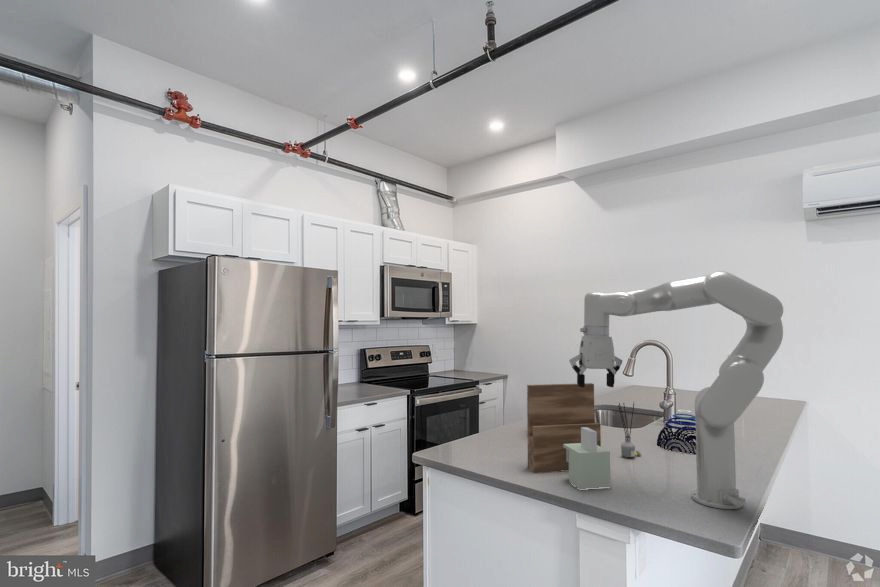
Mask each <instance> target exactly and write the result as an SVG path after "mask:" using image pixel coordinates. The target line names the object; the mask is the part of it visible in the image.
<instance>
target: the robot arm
mask: <svg viewBox="0 0 880 587" xmlns="http://www.w3.org/2000/svg"><path fill="white" fill-rule="evenodd" d="M583 300H584V301H583V302H584V304H583V306H584V309H583V312H584V313H583V314H584V315H583V316H584V318H583V327H580V329H579V331H580V332H581V333H583V335H582V336H581V340H580V343H579V344H580V345H579V352H578V354H577V355H575V356H573V357H572V358H570V359H569V360H568V361H569V363H570V365H571V368H572V370H573V371H574V372H575V373H576V384H578V386H579V387H585V382H586V375H585V374H584V373H585V372H586V370H587V369H589V370H597V369H598V370H606V371H607V373H606V386H607V387H609V388H614V386H615V375H617V372H618V371H619V370H620V369H621V365H622V364H623V359H621V358H619V357H617V356H616V355H615V347H614V343H613V342H614V341H613V337H612V336H610V316H617V317H624V318H625V317H629V316H630V317H631V316H636V315H642V314H647V313H648V314H649V313H656V312H657V313H658V312H661V311H662V312H664V311H665V312H670V311H676V310H677V311H678V310H683V309H685V310H686V309H690V308H696V307H703V306H710V305H716V304H719V305H721V306H723V307H725V308H726V309H728V310H729V311H732V313H733V312H734V313H735V314H737V315H739V316H741V317H742V319H743V320H744V321H745V323H746V324H745V325H746V331H745V333H744V335H743V337H742V338H741V339H740V341H738V343H737V344H736V347H735V348H734V349H733V350H732V351H731V353H730V354H729V355H728V356H727V358H726V359H725V360H724V361H723V362H722V363H721V365H720V367H719V369H718V376H716V379H714V381H713V383H712V384H711V385H710V386H708V387H704V388H702V389H701V390H699V391H698V392H697V394H696V395H695V398H694V416H695V421H694V422H695V423H696V426H695V428H696V433H695V434H696V435H695V436H696V441H695V443H696V445H695V446H696V449H695V453H696V454H695V456H696V458H695V460H696V489H693V490H692V491H691V493H690V497H691V499H693V500H694V501H695V502H697V503H698V504H700V505H703V506H707V507H710V508H713V509H718V510H719V509H720V510H721V509H722V510H738V509H740V508H742V507H743V506H744V504H746V499H745V498H743V497H742V496H740V493H739V492H740V490H739V489H737V481H736V479H737V478H736V477H737V476H736V437H735V436H736V434H735V422H736V421H738V419H739V418H740V417H741V416H742V414H744V412H745V411H746V410H747V408H748V407H749V405H750V404H752V401H753V400H755V398H756V397H757V396H758V394H759V393H760V391H762V387H763V386H764V382H765V375H764V370H765V369H766V367H767V366H768V365H769V363H770V362H771V361H772V358H774V356H775V355H776V353H777V352H778V351H779V348H780V347H781V345H782V341H783V338H784V337H783V336H784V326H783V321H782V319H781V318H782V316H783V314H784V306H783V303H782V302H781V300H780V299H779V298H778V297H777V296H775V295H773V294H772V293H770V292H768V291H766V290H764V289H762V288H760V287H758V286H756V285H754V284H752V283H750V282H748V281H746V280H744V279H742V278H741V277H738V276H736V275H734V273H730V272H727V271H725V270H724V271H715V272H713V273H711V274H705V275H701V276H695V277H690V278H684V279H677V280H672V281H669V282H665V283H661V284H660V285H657V286H654V287H649V288H646V289H640V290H636V291H629V292H627V291H626V292H625V291H617V292H615V291H614V292H608V293H606V292H587V293H585V295H584V299H583ZM577 362H578V364H579V365H577Z"/></svg>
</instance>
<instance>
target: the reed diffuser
mask: <svg viewBox="0 0 880 587" xmlns="http://www.w3.org/2000/svg"><path fill="white" fill-rule="evenodd" d="M622 403H623V410H624V415H623V411H622V406H621V403H620V402H618V405H617V406H618V410H619V414H620V417H621V418H620V419H621V423H622V425H623V426H622V427H623V431H624V435H625V436H624V442H622V443H621V446H620V449H621V450H620V451H621V452H620V453H621V456H623V457H625V458H635V457H637V456H639V457H641V456H642V454H641V453H642V452H641V451H640V450H639V449H637V450H636V446H635V444H634V443H633V442H632V440H631V438H632V437H631V432H632V424H633V416H634V407H635V402H633V403H632V404H633V405H632V412H631V420H630V428H629V427H628V421H627V414H626V406H625V405H626V404H625V402H622ZM624 417H625V419H624Z"/></svg>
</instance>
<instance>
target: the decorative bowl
mask: <svg viewBox="0 0 880 587" xmlns="http://www.w3.org/2000/svg"><path fill="white" fill-rule="evenodd" d="M676 412H677V413H675V414H672V417H671V418H668V420H667V422H665V424H664V427H663V428H662V429H661V430H660V432H659V433H658V436H657V441H656V446H657V447H659V446H660V447H659V448H661V447H662V448H661V449H663V448H664V449H663V450H665V449H668V451H669V450H671V451H670V452H673V451H674V450H675V449H677V451H678V452H683V450H684V452H683V453H692V454H693V453H694V454H693V455H696V421H695V415H693V414H690V413H692V410H688V409H677V411H676ZM684 416H685V417H684ZM687 416H688V417H687ZM671 424H674V425H671ZM675 425H678V426H675ZM673 429H675V431H673ZM665 440H666V441H665ZM670 440H679V441H670ZM686 441H687V442H686ZM689 441H690V442H689ZM669 442H670V443H669ZM680 442H682V444H681V443H680ZM674 444H676V445H674ZM677 445H679V446H677ZM689 445H690V446H689ZM685 447H686V448H687V449H686V448H685ZM690 447H691V448H690Z"/></svg>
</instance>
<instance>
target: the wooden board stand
mask: <svg viewBox="0 0 880 587" xmlns="http://www.w3.org/2000/svg"><path fill="white" fill-rule="evenodd" d="M526 386H527V387H526V388H527V389H526V390H527V392H526V393H527V394H526V399H527V402H526V405H527V406H526V409H527V412H526V414H527V416H526V417H527V423H526V424H527V429H526V430H527V469H529V470H530V469H531V470H530V471H531V472H533V473H534V474H540V473H539V472H543V473H552V472H551V471H558V472H562V471H561V470H569V462H567V460H566V448H564V447H563V444H573V443H581V427H588V428H590V429H592V430H594V431H596V432H597V445H598V446H600V447H602V444H601V443H602V442H601V441H602V438H601V436H602V435H601V429H602V428H601V427H602V426H601V423H599V422H595V384H594V383H592V382H588V383H587V382H586V383H585V387H579V386H578V384H577V383H554V384H553V383H552V384H550V383H549V384H546V383H545V384H526Z"/></svg>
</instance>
